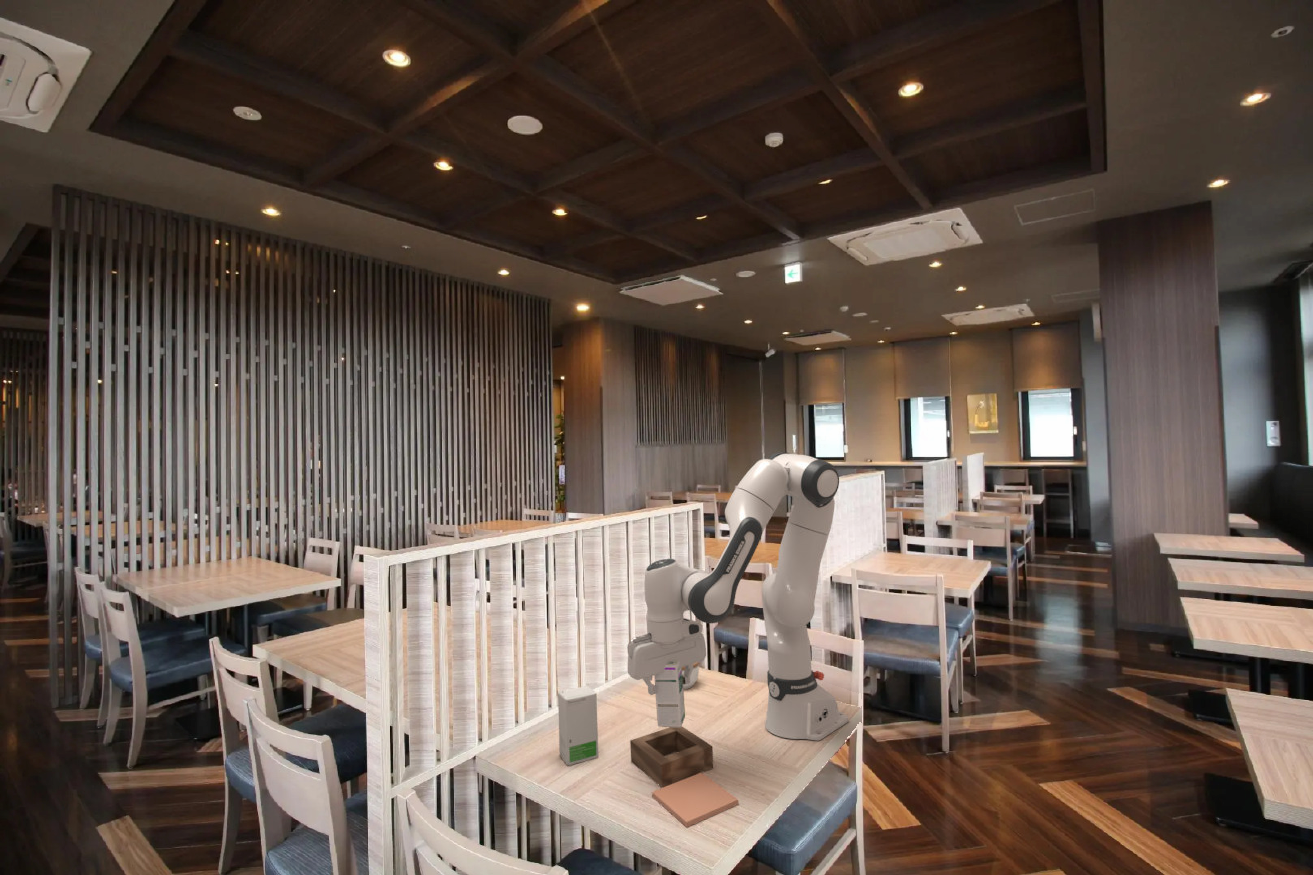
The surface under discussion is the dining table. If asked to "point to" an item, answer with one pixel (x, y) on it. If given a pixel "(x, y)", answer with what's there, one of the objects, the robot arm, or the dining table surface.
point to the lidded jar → (692, 675)
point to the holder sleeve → (674, 767)
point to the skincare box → (578, 725)
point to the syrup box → (670, 696)
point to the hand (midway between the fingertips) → (669, 688)
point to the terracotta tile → (694, 799)
